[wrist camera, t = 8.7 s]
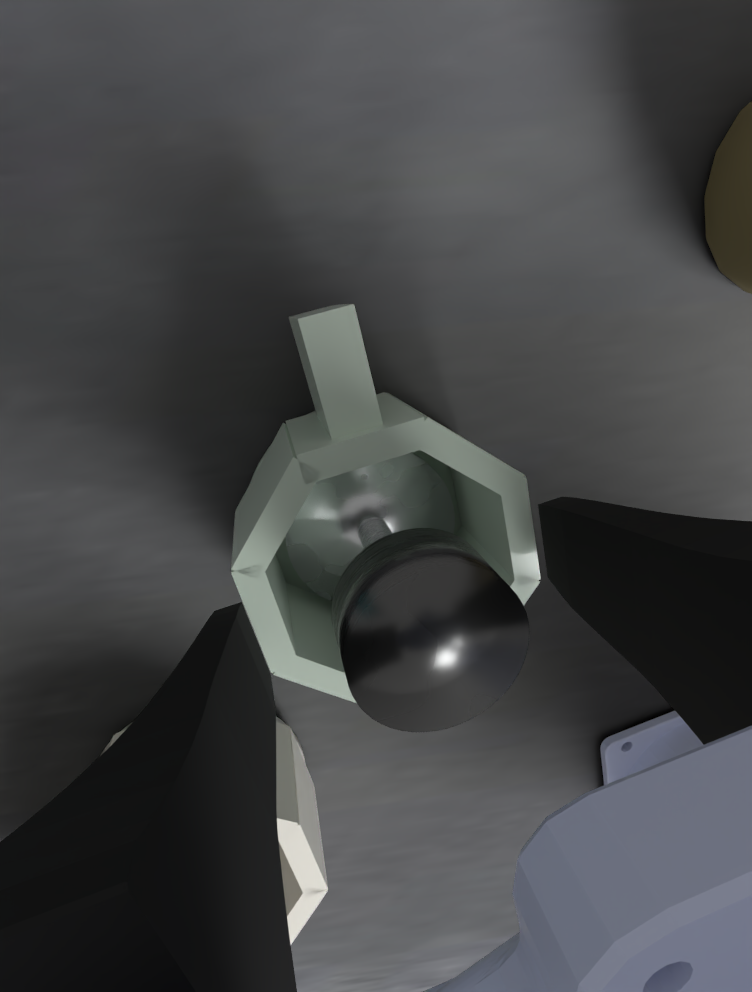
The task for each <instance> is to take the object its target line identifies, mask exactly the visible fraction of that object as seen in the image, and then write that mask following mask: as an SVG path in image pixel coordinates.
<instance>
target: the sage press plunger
mask: <svg viewBox="0 0 752 992" xmlns="http://www.w3.org/2000/svg"><path fill="white" fill-rule="evenodd" d="M454 526H455V514H454V506H453V502H452V499H451V495H450V493H449V491H448V488H447V486H446V485H445V483H444V481H443V480H442V478H441V477H440V476H439V474H438V473H437V472H436V471H435V470H434V469H433V468H432V467H431V466H430V465H428V464H427V463H426V462H425V461H424V460H423V459H422V458H421V457H419V456H417V455H416V454H414V453H413V452H411V453H408V454H405V455H402V456H398V457H395V458H392V459H389V460H385V461H382V462H379V463H376V464H372V465H369V466H366V467H362V468H359V469H356V470H353V471H349V472H346V473H343V474H340V475H336V476H333V477H330V478H327V479H323V480H320V481H317V482H316V483H315V485H314V487H313V488H312V490H311V492H310V494H309V495H308V497H307V499H306V501H305V502H304V504H303V506H302V508H301V509H300V511H299V513H298V515H297V516H296V518H295V520H294V522H293V523H292V525H291V527H290V529H289V530H288V532H287V534H286V536H285V539H286V546H287V551H288V554H289V558H290V561H291V563H292V565H293V567H294V569H295V571H296V572H297V574H298V576H299V577H300V578H301V579H302V581H303V582H304V583H305V584H306V585H307V586H308V587H309V588H310V589H311V590H313V591H314V592H315V593H317V594H318V595H320V596H321V597H323V598H325V599H327V600H330V601H332V607H331V617H332V625H333V629H334V633H335V636H336V640H337V644H338V648H339V652H340V656H341V660H342V664H343V667H344V671H345V675H346V679H347V683H348V687H349V689H350V691H351V694H352V696H353V698H354V699H355V701H356V702H357V704H358V705H359V707H360V708H361V709H362V710H363V711H364V712H365V713H366V714H367V715H369V716H370V717H371V718H372V719H374V720H376V721H377V722H379V723H381V724H383V725H385V726H388V727H390V728H393V729H397V730H401V731H408V732H430V731H437V730H442V729H447V728H450V727H453V726H456V725H459V724H461V723H463V722H466V721H468V720H470V719H472V718H474V717H475V716H477V715H479V714H480V713H482V712H483V711H485V710H486V709H488V708H489V707H490V706H491V705H493V704H494V703H495V702H496V701H497V700H498V699H499V698H500V697H501V696H502V695H503V694H504V693H505V692H506V691H507V689H508V688H509V687H510V686H511V684H512V683H513V682H514V680H515V678H516V677H517V675H518V674H519V671H520V669H521V667H522V665H523V663H524V660H525V657H526V654H527V650H528V645H529V622H528V618H527V614H526V611H525V608H524V606H523V604H522V602H521V600H520V599H519V597H518V596H517V594H516V593H515V592H514V591H513V590H512V589H511V587H510V586H509V585H508V584H507V583H506V582H505V581H504V580H503V579H502V578H501V577H500V576H499V575H498V573H497V572H496V571H495V570H494V569H493V568H492V567H491V566H490V565H489V564H488V563H487V562H486V561H485V560H484V558H483V557H482V556H481V555H480V554H479V553H478V552H477V551H476V550H475V549H474V548H473V547H472V546H471V545H470V544H469V543H468V542H466V541H465V540H463V539H462V538H460V537H458V536H457V535H454V534H453V533H454Z"/></svg>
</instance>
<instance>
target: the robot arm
mask: <svg viewBox="0 0 752 992" xmlns="http://www.w3.org/2000/svg"><path fill="white" fill-rule="evenodd" d="M538 507H539V515H540V522H541V530H542V537H543V545H544V552H545V559H546V567H547V574H548V578H549V579H550V581H551V582H552V583H553V585H554V586H555V587H556V589H557V590H558V591H559V593H560V594H561V595H562V596H563V598H564V599H565V600H566V601H567V602H568V604H569V605H570V606H571V607H572V608H573V609H574V610H575V611H576V612H577V613H578V614H579V615H580V616H581V617H582V618H583V619H584V620H585V621H586V622H587V623H588V624H589V625H590V626H591V627H592V628H593V629H594V630H596V631H597V632H598V633H599V634H600V635H601V636H602V637H603V638H604V639H605V640H606V641H607V642H608V643H609V644H611V645H612V646H613V647H614V648H615V649H616V650H617V651H618V652H619V653H620V654H621V655H622V656H623V657H624V658H625V659H627V660H628V661H629V662H630V663H631V664H632V665H633V666H634V667H635V668H636V669H637V670H638V671H639V672H640V673H641V674H642V675H643V676H644V677H645V678H646V679H647V680H648V681H649V682H650V683H651V684H652V685H653V686H654V687H655V688H656V689H657V690H658V691H659V693H660V694H661V695H662V696H663V697H664V698H665V700H666V701H667V702H668V703H669V704H670V705H671V706H672V708H673V709H674V710H675V711H672V712H670V713H667V714H665V715H662V716H659V717H657V718H654V719H652V720H649V721H647V722H644V723H642V724H639V725H637V726H634V727H632V728H629V729H626V730H624V731H621V732H619V733H616V734H614V735H611V736H609V737H607V738H606V739H605V740H604V741H603V742H602V744H601V748H600V751H601V760H602V770H603V779H604V786H601V787H599V788H596V789H594V790H591V791H589V792H586V793H584V794H582V795H581V796H579V797H578V798H576V799H574V800H573V801H571V802H570V803H568V804H566V805H565V806H563V807H562V808H560V809H558V810H557V811H555V812H554V813H552V814H550V815H549V816H547V817H546V818H545V819H544V821H543V822H542V823H541V825H540V826H539V827H538V829H537V830H536V831H535V832H534V834H533V835H532V836H531V838H530V839H529V840H528V842H527V843H526V844H525V846H524V847H523V848H522V849H521V852H520V854H519V857H518V860H517V866H516V873H515V880H514V886H513V893H512V894H513V899H514V903H515V908H516V912H517V917H518V921H519V926H520V932H519V933H518V934H516V935H515V936H513V937H512V938H510V939H509V940H508V941H506V942H505V943H503V944H502V945H501V946H499V947H498V948H496V949H495V950H493V951H492V952H491V953H489V954H488V955H486V956H485V957H484V958H482V959H481V960H479V961H478V962H476V963H475V964H474V965H472V966H471V967H469V968H468V969H467V970H465V971H464V972H462V973H461V974H459V975H458V976H457V977H455V978H453V979H451V980H448V981H446V982H444V983H442V984H439V985H437V986H435V987H432V988H430V989H428V990H426V991H423V992H752V521H736V520H721V519H709V518H699V517H691V516H683V515H676V514H668V513H662V512H655V511H649V510H643V509H637V508H632V507H626V506H620V505H615V504H609V503H604V502H598V501H593V500H586V499H580V498H571V497H560V498H557V499H554V500H551V501H547V502H544V503H541V504H538ZM0 992H297V989H296V982H295V975H294V967H293V960H292V952H291V945H290V937H289V929H288V921H287V913H286V904H285V896H284V888H283V879H282V869H281V860H280V851H279V841H278V831H277V810H276V710H275V703H274V695H273V688H272V682H271V675H270V672H269V669H268V667H267V664H266V662H265V659H264V657H263V654H262V652H261V649H260V647H259V644H258V642H257V639H256V637H255V634H254V632H253V629H252V627H251V624H250V622H249V619H248V617H247V614H246V612H245V610H244V607H243V605H242V602H240V603H237V604H234V605H231V606H228V607H225V608H222V609H219V610H216V611H214V612H213V614H212V615H211V616H210V618H209V619H208V621H207V622H206V624H205V625H204V627H203V628H202V630H201V631H200V633H199V634H198V636H197V638H196V639H195V641H194V642H193V644H192V645H191V647H190V648H189V649H188V651H187V652H186V654H185V655H184V657H183V658H182V660H181V661H180V663H179V664H178V666H177V667H176V668H175V670H174V671H173V672H172V674H171V675H170V676H169V678H168V679H167V680H166V682H165V683H164V684H163V686H162V687H161V688H160V689H159V691H158V692H157V693H156V695H155V696H154V697H153V699H152V700H151V701H150V703H149V704H148V705H147V706H146V707H145V709H144V710H143V711H142V712H141V713H140V714H139V716H138V717H137V718H136V719H135V720H134V721H133V722H132V724H131V725H130V726H129V727H128V728H127V729H126V730H125V731H124V732H123V733H122V734H121V736H120V737H119V738H118V739H117V740H116V741H115V742H114V743H113V744H112V745H111V746H110V747H109V748H108V749H107V750H106V751H105V752H104V753H103V754H102V755H101V756H100V757H99V758H98V759H97V760H96V761H94V762H93V763H92V764H91V765H90V766H89V767H88V768H87V769H86V770H85V771H84V772H83V773H82V774H81V775H80V776H79V777H78V778H77V779H75V780H74V781H73V782H72V783H71V784H70V785H69V786H68V787H67V788H66V789H65V790H63V791H62V792H61V793H60V794H59V795H58V796H56V797H55V798H54V799H53V800H52V801H51V802H49V803H48V804H47V805H46V806H45V807H44V808H42V809H41V810H40V811H39V812H38V813H36V814H35V815H34V816H33V817H31V818H30V819H29V820H28V821H26V822H25V823H24V824H23V825H21V826H20V827H19V828H18V829H16V830H15V831H14V832H13V833H11V834H10V835H9V836H7V837H6V838H5V839H4V840H2V841H1V842H0Z"/></svg>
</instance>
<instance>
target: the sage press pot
mask: <svg viewBox="0 0 752 992" xmlns="http://www.w3.org/2000/svg"><path fill="white" fill-rule="evenodd" d="M289 321H290V324H291V327H292V331H293V334H294V338H295V341H296V345H297V348H298V352H299V355H300V359H301V362H302V365H303V369H304V372H305V376H306V379H307V383H308V386H309V390H310V393H311V396H312V400H313V403H314V407H315V411H313V412H311V413H309V414H307V415H304V416H300V417H297V418H294V419H290V420H287V421H286V424H285V423H283V424H282V426H281V427H280V429H279V431H278V433H277V435H276V437H275V439H274V440H273V442H272V444H271V445H270V446H269V448H268V449H267V450H266V452H265V453H264V455H263V457H262V458H261V460H260V461H259V463H258V465H257V467H256V470H255V472H254V474H253V476H252V479H251V483H250V485H249V486H248V488H247V490H246V492H245V494H244V496H243V497H242V499H241V501H240V503H239V505H238V507H237V509H236V510H235V522H234V536H233V549H232V563H231V574H232V576H233V579H234V581H235V584H236V586H237V589H238V591H239V594H240V596H241V599H242V601H243V604H244V606H245V609H246V611H247V614H248V616H249V619H250V621H251V624H252V626H253V629H254V631H255V634H256V636H257V639H258V641H259V644H260V646H261V649H262V651H263V654H264V656H265V659H266V661H267V664H268V666H269V669H270V671H271V673H273V675H275V676H278V677H281V678H284V679H287V680H290V681H293V682H296V683H299V684H302V685H304V686H307V687H310V688H313V689H316V690H319V691H322V692H325V693H328V694H331V695H334V696H337V697H340V698H343V699H346V700H349V701H352V702H355V703H357V702H356V701H355V699H354V698H353V696H352V694H351V691H350V689H349V687H348V683H347V679H346V675H345V671H344V667H343V664H342V660H341V656H340V652H339V648H338V644H337V640H336V636H335V633H334V629H333V625H332V617H331V607H332V601H330V600H327V599H325V598H323V597H321V596H320V595H318V594H317V593H315V592H314V591H313V590H311V589H310V588H309V587H308V586H307V585H306V584H305V583H304V582H303V581H302V579H301V578H300V577H299V576H298V574H297V572H296V571H295V569H294V567H293V565H292V563H291V561H290V558H289V554H288V551H287V546H286V539H285V536H286V534H287V532H288V530H289V529H290V527H291V525H292V523H293V522H294V520H295V518H296V516H297V515H298V513H299V511H300V509H301V508H302V506H303V504H304V502H305V501H306V499H307V497H308V495H309V494H310V492H311V490H312V488H313V487H314V485H315V483H316V482H317V481H320V480H323V479H327V478H330V477H333V476H336V475H340V474H343V473H346V472H349V471H353V470H356V469H359V468H362V467H366V466H369V465H372V464H376V463H379V462H382V461H385V460H389V459H392V458H395V457H398V456H402V455H405V454H408V453H411V452H413V453H414V454H416V455H417V456H419V457H421V458H422V459H423V460H424V461H425V462H426V463H427V464H428V465H430V466H431V467H432V468H433V469H434V470H435V471H436V472H437V473H438V474H439V476H440V477H441V478H442V480H443V481H444V483H445V485H446V486H447V488H448V491H449V493H450V495H451V499H452V502H453V506H454V514H455V526H454V533H453V534H454V535H457V536H458V537H460V538H462V539H463V540H465V541H466V542H468V543H469V544H470V545H471V546H472V547H473V548H474V549H475V550H476V551H477V552H478V553H479V554H480V555H481V556H482V557H483V558H484V560H485V561H486V562H487V563H488V564H489V565H490V566H491V567H492V568H493V569H494V570H495V571H496V572H497V573H498V575H499V576H500V577H501V578H502V579H503V580H504V581H505V582H506V583H507V584H508V585H509V586H510V587H511V589H512V590H513V591H514V592H515V593H516V594H517V596H518V597H519V599H520V600H521V602H522V604H523V606H524V605H525V603H526V602H527V600H528V599H529V597H530V596H531V594H532V593H533V592H534V590H535V589H536V587H537V586H538V584H539V583H540V581H539V580H540V579H541V577H540V570H539V563H538V556H537V549H536V542H535V535H534V527H533V520H532V513H531V506H530V499H529V492H528V485H527V478H526V477H525V475H524V474H522V473H521V472H519V471H518V470H516V469H514V468H513V467H511V466H509V465H508V464H506V463H504V462H503V461H501V460H499V459H498V458H496V457H494V456H493V455H491V454H490V453H488V452H486V451H485V450H483V449H481V448H480V447H478V446H476V445H475V444H473V443H471V442H470V441H468V440H467V439H465V438H463V437H461V436H460V435H458V434H456V433H455V432H453V431H451V430H450V429H448V428H446V427H445V426H443V425H441V424H440V423H438V422H436V421H435V420H433V419H431V418H430V417H428V416H426V415H424V414H423V413H421V412H419V411H418V410H416V409H414V408H413V407H411V406H409V405H408V404H406V403H404V402H403V401H401V400H399V399H398V398H396V397H394V396H393V395H391V394H389V393H385V392H383V393H380V394H376V393H375V388H374V384H373V380H372V376H371V372H370V368H369V364H368V359H367V355H366V351H365V347H364V343H363V339H362V335H361V331H360V326H359V322H358V318H357V314H356V310H355V306H354V304H340V305H331V306H328V307H324V308H320V309H316V310H313V311H309V312H305V313H301V314H297V315H294V316H290V317H289Z"/></svg>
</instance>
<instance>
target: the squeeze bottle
mask: <svg viewBox="0 0 752 992" xmlns="http://www.w3.org/2000/svg"><path fill="white" fill-rule="evenodd" d="M704 202H705V227H706V240H707V242H708V245H709V247H710V249H711V252H712V254H713V256H714V259H715V261H716V263H717V266H718V268H719V270H720V272H721V273H723V274H724V275H725V276H726V277H727V278H729V279H730V280H731V281H732V282H734V283H735V284H736V285H737V286H738V287H740V288H741V289H742V290H743V291H746V292H748V293H751V294H752V101H751V102H750V103H749V104H748V105H746V106H745V107H744V108H743V109H742V110H741V111H740V112H739V114H738V115H737V117H736V119H735V121H734V122H733V124H732V126H731V127H730V129H729V131H728V132H727V134H726V136H725V137H724V139H723V141H722V142H721V144H720V146H719V147H718V149H717V151H716V154H715V158H714V161H713V165H712V169H711V173H710V177H709V181H708V184H707V188H706V192H705V196H704Z"/></svg>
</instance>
